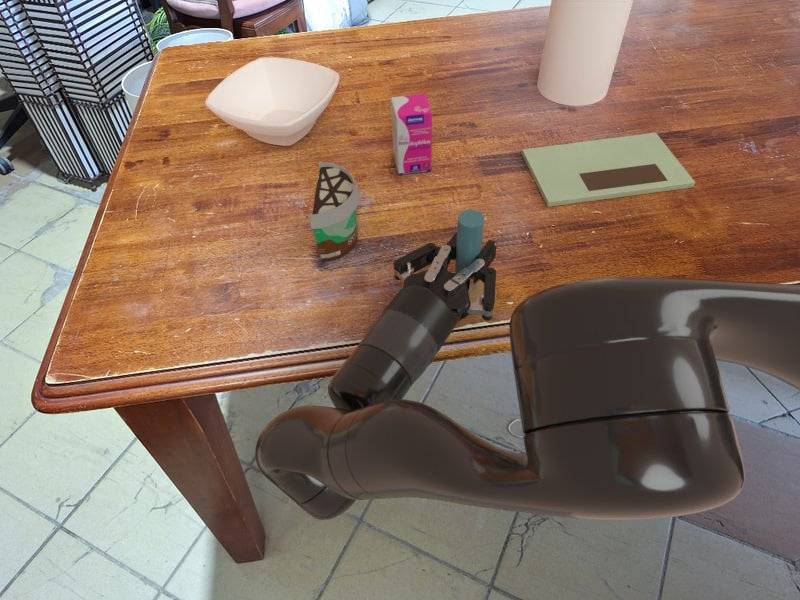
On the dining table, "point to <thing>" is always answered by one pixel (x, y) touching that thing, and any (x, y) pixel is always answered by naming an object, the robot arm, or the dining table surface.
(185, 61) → the dining table surface
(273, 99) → the bowl
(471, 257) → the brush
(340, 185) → the food container
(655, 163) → the board
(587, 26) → the canister
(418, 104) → the supplement box
